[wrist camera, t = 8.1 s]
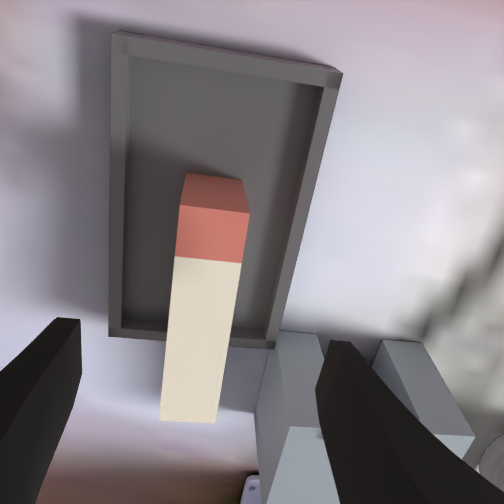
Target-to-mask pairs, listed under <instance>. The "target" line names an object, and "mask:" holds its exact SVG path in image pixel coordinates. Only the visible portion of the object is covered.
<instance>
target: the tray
mask: <svg viewBox="0 0 504 504" xmlns="http://www.w3.org/2000/svg"><path fill="white" fill-rule="evenodd" d="M342 76H343V73H342V72H340V71H339V70H337V69H336V68H335V67H329V66H323V65H317V64H311V63H306V62H300V61H294V60H288V59H282V58H276V57H271V56H265V55H259V54H253V53H247V52H241V51H236V50H230V49H224V48H218V47H212V46H206V45H201V44H195V43H189V42H183V41H177V40H171V39H166V38H160V37H154V36H148V35H142V34H136V33H131V32H125V31H117V32H115V33H112V34H111V102H110V217H109V331H108V337H121V338H134V339H146V340H159V341H167V331H168V320H169V310H170V300H171V290H172V280H173V269H174V259H175V249H176V239H177V228H178V218H179V208H180V201H181V196H182V191H183V186H184V181H185V176H186V173H193V174H201V175H209V176H216V177H224V178H231V179H239V180H242V182H243V186H244V190H245V195H246V199H247V203H248V208H249V212H250V216H249V222H248V228H247V234H246V240H245V247H244V253H243V259H242V265H241V271H240V277H239V283H238V289H237V295H236V301H235V307H234V314H233V320H232V326H231V332H230V338H229V344H228V346H234V347H247V348H259V349H272V350H274V349H275V345H276V341H277V337H278V333H279V329H280V325H281V321H282V317H283V313H284V309H285V305H286V301H287V297H288V293H289V289H290V285H291V281H292V277H293V273H294V269H295V265H296V261H297V257H298V253H299V249H300V245H301V241H302V237H303V233H304V229H305V225H306V221H307V217H308V213H309V208H310V204H311V200H312V196H313V192H314V188H315V184H316V180H317V176H318V172H319V168H320V164H321V160H322V156H323V152H324V148H325V144H326V140H327V136H328V132H329V128H330V124H331V120H332V116H333V112H334V108H335V104H336V100H337V96H338V92H339V88H340V84H341V80H342Z"/></svg>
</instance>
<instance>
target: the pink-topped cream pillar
mask: <svg viewBox="0 0 504 504" xmlns="http://www.w3.org/2000/svg"><path fill="white" fill-rule="evenodd" d="M249 216H250V212H249V208H248V203H247V199H246V195H245V190H244V186H243V182H242V180H239V179H231V178H224V177H216V176H209V175H201V174H193V173H186V176H185V181H184V186H183V191H182V196H181V201H180V208H179V218H178V228H177V239H176V249H175V259H174V269H173V280H172V290H171V300H170V310H169V320H168V331H167V341H166V351H165V361H164V372H163V382H162V392H161V402H160V413H159V420H161V421H178V422H196V423H214V424H215V423H216V417H217V411H218V405H219V399H220V393H221V387H222V381H223V374H224V368H225V362H226V356H227V350H228V344H229V338H230V332H231V326H232V320H233V314H234V307H235V301H236V295H237V289H238V283H239V277H240V271H241V265H242V259H243V253H244V247H245V240H246V234H247V228H248V222H249Z"/></svg>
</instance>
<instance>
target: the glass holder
mask: <svg viewBox="0 0 504 504" xmlns="http://www.w3.org/2000/svg"><path fill="white" fill-rule="evenodd" d="M479 471H480V475H482V476H483V477H484V478H485V479H487V480H488V481H489V482H491V483H492V484H494V485H495V486H496V487H498V488H499V489H500V490H502V491H503V492H504V434H502V435H501V436H500V437H498V438H497V439H496V440H495V441H494V442H492V443H491V445H490V446H489V447H488V448H487V449H486V451H485V452H484V454H483V455H482V457H481V460H480V463H479Z"/></svg>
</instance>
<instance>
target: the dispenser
mask: <svg viewBox="0 0 504 504" xmlns="http://www.w3.org/2000/svg"><path fill="white" fill-rule="evenodd" d="M323 362H324V357H323V354H322V350H321V347H320V343H319V340H318V336H317V334H312V333H300V332H288V331H279V333H278V337H277V341H276V345H275V349H274V350H272V349H270V350H269V354H268V358H267V363H266V367H265V371H264V375H263V379H262V383H261V387H260V391H259V395H258V400H257V404H256V408H255V412H254V420H255V432H256V444H257V455H258V467H259V479H260V491H261V502H262V504H340V502H339V497H338V493H337V489H336V485H335V482H334V478H333V474H332V470H331V466H330V463H329V459H328V455H327V451H326V447H325V443H324V440H323V436H322V432H321V428H320V424H319V418H318V411H317V403H316V395H315V387H316V384H317V381H318V378H319V375H320V372H321V368H322V365H323ZM372 369H373V370H374V371H375V372H376V373H377V375H378V376H379V377H380V378H381V379H382V381H383V382H384V383H385V384H386V385H387V386H388V388H389V389H390V390H391V391H392V392H393V393H394V394H395V396H396V397H397V398H398V399H399V400H400V401H401V402H402V403H403V404H404V405H405V407H406V408H407V409H408V410H409V411H410V412H411V413H412V414H413V415H414V416H415V417H416V418H417V419H418V420H419V421H420V422H421V423H422V424H423V425H424V426H425V427H426V428H427V429H428V430H429V431H430V432H431V433H432V434H433V435H434V436H435V437H437V438H438V439H439V440H440V441H441V442H442V443H443V444H444V445H445V446H447V447H448V448H449V449H450V450H451V451H452V452H453V453H454V454H456V455H457V456H458V457H459V458H460V459H462V458H463V457H464V455H465V453H466V452H467V450H468V448H469V447H470V445H471V444H472V442H473V440H474V439H475V437H476V436H475V434H474V433H473V431H472V429H471V427H470V426H469V424H468V422H467V420H466V419H465V417H464V415H463V413H462V412H461V410H460V408H459V406H458V405H457V403H456V401H455V399H454V398H453V396H452V394H451V392H450V391H449V389H448V387H447V385H446V384H445V382H444V380H443V378H442V377H441V375H440V373H439V371H438V370H437V368H436V366H435V364H434V363H433V361H432V359H431V357H430V356H429V354H428V352H427V351H426V349H425V347H424V345H423V344H422V343H417V342H405V341H394V340H382V342H381V345H380V347H379V350H378V352H377V355H376V357H375V359H374V362H373V364H372Z"/></svg>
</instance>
